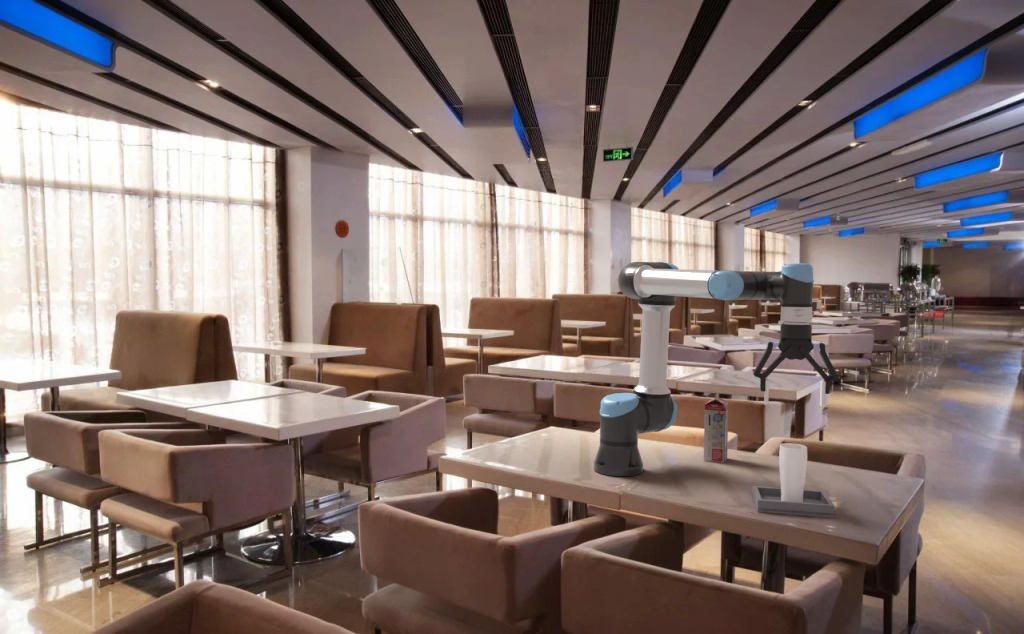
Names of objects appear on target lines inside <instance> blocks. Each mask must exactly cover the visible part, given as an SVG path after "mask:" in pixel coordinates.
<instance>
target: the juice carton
mask: <svg viewBox="0 0 1024 634" xmlns="http://www.w3.org/2000/svg"><path fill="white" fill-rule="evenodd" d="M703 421H704V422H703V423H704V426H703V427H704V428H703V429H704V431H703V433H704V435H703V436H704V437H703V461H704V462H712V463H722V464H723V463H726V462H727V460H728V447H729V446H728V444H729V443H728V442H729V441H728V439H729V435H728V434H729V402H728V401H727V400H725V399H724V398H721V397H720V392H719V391H718V392H716V394H715V395H714V398H712V399H710V400H707V402H706V403H705V404H704V420H703Z"/></svg>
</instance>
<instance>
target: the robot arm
mask: <svg viewBox="0 0 1024 634" xmlns="http://www.w3.org/2000/svg"><path fill="white" fill-rule="evenodd" d="M617 283H618V287H619V290H620V291H621V293H622V294H623V295H624V296H626V297H627V298H630V299H633V300H638V302H637V305H638V306H639V307H640V308H641V309H642V314H641V316H642V318H641V333H640V334H641V335H640V336H641V337H640V355H639V357H640V358H639V374H638V375H639V376H638V384H637V385H636V386H635V387H634V388H633V393H632V392H620V393H618V392H617V393H611V394H608V395H606V396H604V397H603V398H602V399H601V401H600V408H599V446H598V449H597V452H596V455H595V457H594V461H593V470H594V471H595V472H596V473H598V474H602V475H605V476H612V477H633V476H637V475H640V474H642V473H643V472H644V462H643V459H642V457H641V453H640V449H639V444H638V443H639V441H638V440H639V439H638V438H639V435H641V434H642V435H643V434H648V433H657V432H658V433H659V432H661V431H664V430H667V429H669V428H670V427H671V426H672V425H674V423H675V421H676V420H677V417H678V406H677V403H676V402H675V401H676V400H675V398H674V397H673V396H672V395H671V393H672V392H671V390H670V389H669V388H668V386H667V379H668V378H667V377H668V374H667V373H668V357H669V340H670V339H669V338H670V322H671V321H670V319H671V311H672V310H673V309H674V308H675V307H676V302H677V299H678V298H679V297H686V298H700V299H701V298H702V299H715V300H721V301H738V300H739V301H740V300H742V301H743V300H745V301H747V300H749V301H754V300H756V301H758V300H759V301H761V300H767V301H768V300H769V301H770V300H773V301H774V300H775V301H780V304H781V305H780V322H782V323H781V325H780V326H779V327H780V331H779V332H780V333H779V334H780V335H779V342H774V341H771V340H769V341H767V342H766V349H765V351H764V352H763V355H762V357H760V360H759V361H758V363H757V365H756V367H755V369H754V370H753V372H752V375H753V376H754V377H756V378H759V381H760V383H759V389H760V391H761V392H764V395H763V399H764V400H763V403H764V406H769V401H770V400H769V399H770V398H769V395H770V394H769V393H770V392H769V391H770V390H769V389H770V379H769V378H768V377H769V376H770V375H771V374H772V372H774V370H775V369H777V367H778V366H779V365H780V364H781V363H782V362H783V361H784V360H786V359H787V360H790V361H792V360H793V361H794V360H798V361H803V360H806V361H807V362H808V363H809V364H810V365H811V366H812V368H814V370H815V371H816V372H817V373H818V375H820V376H821V378H822V379H823V380H820V382H819V383H820V384H819V406H820V407H821V408H825V407H826V395H829V394H830V391H831V388H830V387H831V382H833V381H834V380H838V379H839V376H838V375H839V374H838V373H837V372H836V370H835V367H834V366H833V364H832V362H831V360H830V358H829V356H828V353H827V352H826V344H825V343H823V342H822V341H820V342H818V343H813V340H812V339H813V338H812V336H813V335H812V334H813V326H812V325H811V324H810V323H813V293H814V292H813V290H814V268H813V265H812V264H810V263H804V262H803V263H797V262H796V263H795V262H794V263H784V264H782V266H781V270H780V271H779V270H778V271H759V270H758V271H754V270H753V271H752V270H751V271H750V270H748V271H746V270H743V271H742V270H730V269H729V270H727V269H726V270H725V269H723V270H715V269H714V270H713V269H707V270H706V269H680V268H679V267H678V266H676V265H675V264H673V263H670V262H669V263H668V262H665V261H664V262H663V261H658V262H657V261H633V262H629V263H628V264H626V265H625V266H623V267H622V269H621V270H620V272H619V274H618V277H617ZM776 348H778V349H779V350H780V353H779V354H778V355H777V357H776V358H775V359H774V360H773V361H772V362H771V363H770V364H769V366H767V367H766V368H765V369H764V366H766V363H767V362H768V360H769V358H770V357H771V354H772V352H773V351H775V350H776ZM813 349H815V351H816V352H818V353H819V356H820V357H821V359H822V362H823V364H824V365H825V367H826V369H827V372H828V373H829V375H828V374H827V373H826V372H825V371H824V369H823V368H822V367H821V366H820V365H819V364H818V362H817V361H816V360H815V359H814V357H812V355H811V354H810V353H811V351H813ZM763 369H764V371H763V372H762V370H763Z"/></svg>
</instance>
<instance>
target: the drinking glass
mask: <svg viewBox="0 0 1024 634" xmlns="http://www.w3.org/2000/svg"><path fill="white" fill-rule="evenodd" d="M778 453H779V454H778V463H779V464H778V465H779V466H778V468H779V479H780V480H779V481H780V488H781V501H791V502H803V493H804V490H805V483H806V477H807V476H806V474H807V466H808V447H807V446H806V445H804V444H800V443H791V442H790V443H789V442H788V443H781V444H779V452H778Z"/></svg>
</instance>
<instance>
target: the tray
mask: <svg viewBox="0 0 1024 634" xmlns="http://www.w3.org/2000/svg"><path fill="white" fill-rule="evenodd" d="M752 498H753V502H754V504H755V507H756V508H755V509H756V510H757V512H758V513H767V514H768V513H770V514H783V515H792V514H793V515H796V516H805V515H806V516H807V515H808V516H807V517H818V518H819V517H821V518H832V519H833V518H835V505H834V503H833V502H832V500H831V499H830V497H829V496H828V494H827V493H826V492H825V490H814V489H804V493H803V502H791V501H781V487H772V486H762V485H761V486H759V485H758V486H757V485H753V486H752Z"/></svg>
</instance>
